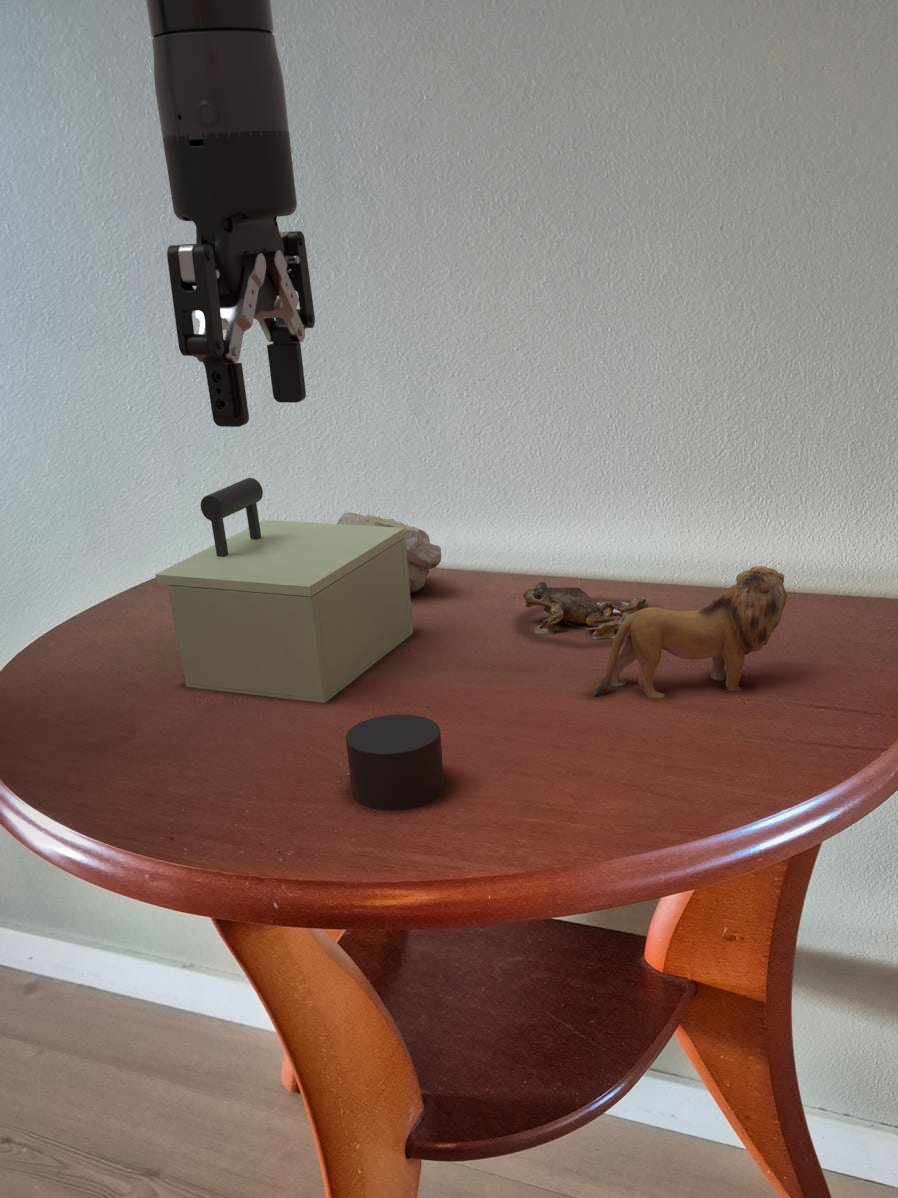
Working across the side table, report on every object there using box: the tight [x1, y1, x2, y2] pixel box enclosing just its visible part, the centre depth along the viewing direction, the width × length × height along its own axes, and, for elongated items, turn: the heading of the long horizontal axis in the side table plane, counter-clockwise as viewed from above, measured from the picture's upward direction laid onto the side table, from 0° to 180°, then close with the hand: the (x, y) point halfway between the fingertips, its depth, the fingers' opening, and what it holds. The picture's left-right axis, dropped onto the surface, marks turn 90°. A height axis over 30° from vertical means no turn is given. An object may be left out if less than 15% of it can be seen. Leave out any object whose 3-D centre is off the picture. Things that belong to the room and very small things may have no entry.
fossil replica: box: [336, 511, 442, 594], centre depth 112 cm, size 12×8×10 cm
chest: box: [167, 538, 414, 704], centre depth 96 cm, size 13×16×9 cm
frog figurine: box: [522, 581, 649, 640], centre depth 102 cm, size 12×12×4 cm
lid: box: [155, 477, 405, 597], centre depth 93 cm, size 14×16×6 cm
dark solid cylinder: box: [345, 713, 445, 812], centre depth 76 cm, size 6×6×4 cm
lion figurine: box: [592, 565, 788, 699], centre depth 87 cm, size 15×5×9 cm, turn 102°
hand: (262, 413), depth 79 cm, fingers open, 8 cm apart
